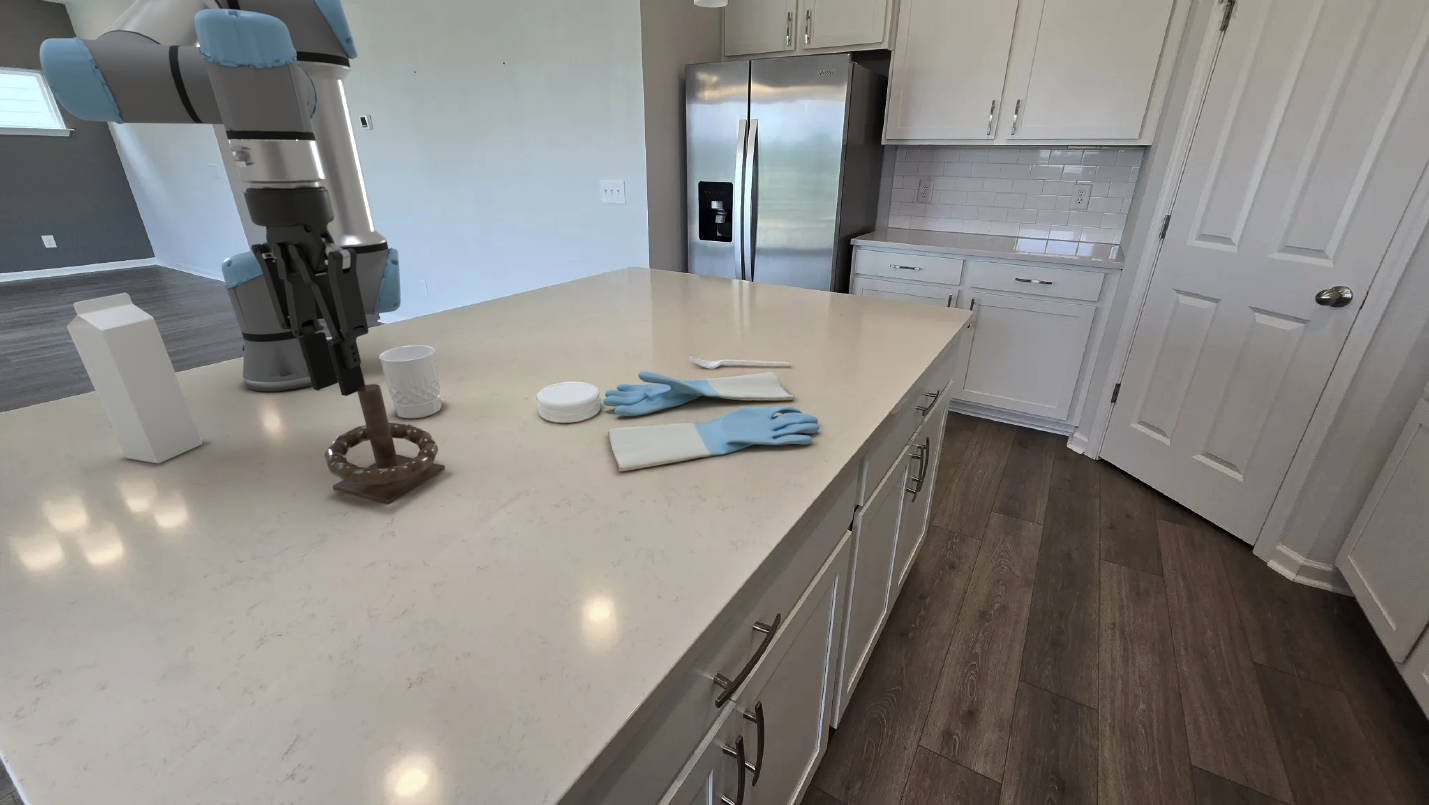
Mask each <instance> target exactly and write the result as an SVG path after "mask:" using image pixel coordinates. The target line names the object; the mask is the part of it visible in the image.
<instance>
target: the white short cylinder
mask: <svg viewBox="0 0 1429 805" xmlns="http://www.w3.org/2000/svg"><path fill="white" fill-rule="evenodd" d="M600 394H601V392H600V389H599V388H598V387H597V386H596V385H594V384H592V383H590V382H586V381H576V380H575V381H574V380H573V381H562V382H556V383H552V384H549V385H547V386H545V387H542V388H541V389H540V390H539V391H538V393H537V394H536V401H537V407H538V408H537V409H538V410H537V411H538V414H539V417H541V418H542V419H544V420H545V421H547V422H552V423H557V424H558V423H559V424H569V423H578V422H582V421H586V420H588V419H591V418H593V417H594V416H595V415H597V414H598V413H599V412H600V411H601V407H602V405H601V397H600Z"/></svg>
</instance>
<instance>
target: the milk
mask: <svg viewBox="0 0 1429 805" xmlns="http://www.w3.org/2000/svg"><path fill="white" fill-rule="evenodd" d="M72 305H73V308H74V311H75V313H76V316H74V318H72V320H70V322H69V323H68V324H67V325H66V328H67V331H68V333H69V336H70V337H71V340H72V342H73V344H74V346H75V348H76V351H77V353H78V355H79V358H80V360H81V362H82V364H83V366H84V368H85V371H86V373H87V375H88V377H89V380H90V381H91V384H92V386H93V388H94V390H95V393H96V395H97V397H98V399H99V401H100V404H101V406H102V409H103V410H104V412H105V414H106V417H107V418H108V421H109V423H110V425H111V426H110V427H111V428H112V430H113V432H114V435H115V436H116V439H117V442H118V443H119V445H120V448H121V450H122V452H123V455H124V457H125V458H126V459H129V460H135V461H140V462H147V463H152V464H161V463H163V462H166V461H169V460H170V459H173V458H175V457H177V456H179V455H181V454H184V453H186V452H189V451H191V450H193V449H195V448H198V447H199V446H202V445H203V441H202V438H201V435H200V433H199V431H198V428H197V426H196V422H195V420H194V418H193V417H194V416H193V414H192V413H191V410H190V407H189V405H188V402H187V399H186V397H185V394H184V392H183V388H182V387H181V384H180V382H179V379H178V376H177V373H176V371H175V368H174V366H173V363H172V361H171V358H170V355H169V353H168V351H167V348H166V345H165V342H164V340H163V337H162V334H161V332H160V330H159V327H158V325H157V322H156V320H155V318H154V317H153V316H152V315H151V314H149V313H148V312H146V311H144V310H143V309H142V308H140V307H139V306H137V305H136V304H134V303H133V301H132V299H131V296H130V294H129V293H127V292H122V293H116V294H112V295H107V296H106V295H105V296H100V297H96V298H90V299H85V300H80V301H76V302H75V301H74V303H73V304H72Z"/></svg>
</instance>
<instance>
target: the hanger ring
mask: <svg viewBox="0 0 1429 805" xmlns="http://www.w3.org/2000/svg"><path fill="white" fill-rule="evenodd" d="M389 426H390V430H391V434H392V438H393V439H398V440H399V439H400V440H406V441H408V442H411V443H413V444H415V445H417V447H418V449H419V451H418V453H417V455H416V456H414V457H412V458H413V459H411V460H410V461H408V462H406V463H404V464H402V465H397V466H392V467H387V468H382V469H379V468H366V467H363V466H359V465H356V464H354V463H352V462H350V461H348V459H347V457H346V456H347V454H348V452H349V451H350V450H351V449H353V448H355V447H356V446H358V445H360V444H362V443H364V442H367V441H370V439H369V435H368V431H367V427H366V424H365V425H359V426H357V427H355V428H352V429H350V430H348V431H346V432H344V433H342V434H340V435H338V436H336V437H335V438H334V440H333V441H332V443H331V444H330V445H329V447H328V448H327V449H326V451H325V452H324V459H325V462H326V465H327V467H328V471H329V473H330V474H332V475H333V476H334V477H335V476H336V477H338V479H342V480H346V481H348V482H350V483H352V484H360V485H376V486H384V485H388V484H393V483H397V482H402V481H406V480H410V479H412V478H413V477H415V476H417V475H418V474H420V473H422V472H423V471H425V470H426V469H428V468H429V467H431V465H432V463H434V461H435V459H436V457H437V455H438V452H439V446H438V445H437V443H436V441H435V440H434V437H433V436H432V435H431V433H430V432H429V431H426V430H424V429H421V428H419V427H417V426H416V425H413V424H410V423H398V422H389Z"/></svg>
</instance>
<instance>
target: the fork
mask: <svg viewBox="0 0 1429 805" xmlns="http://www.w3.org/2000/svg"><path fill="white" fill-rule="evenodd" d="M688 359H689V360H690V361H691V362H692V363H694V364H696V365H698V366H699V367H702V368H704V369H709V370H710V369H711V370H714V369H717V368H719V367H720V366H722V365H740V366H741V365H742V366H743V365H745V366H747V365H748V366H775V367H776V366H777V367H778V366H779V367H783V366H784V367H790V366H791V365H790V362H787V361H786V362H785V361H765V360H743V359H742V360H741V359H740V360H739V359H718V360H714V361H710V360H704V359H701V358H698V357H695V356H693V355H691V354H689V358H688Z"/></svg>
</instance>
